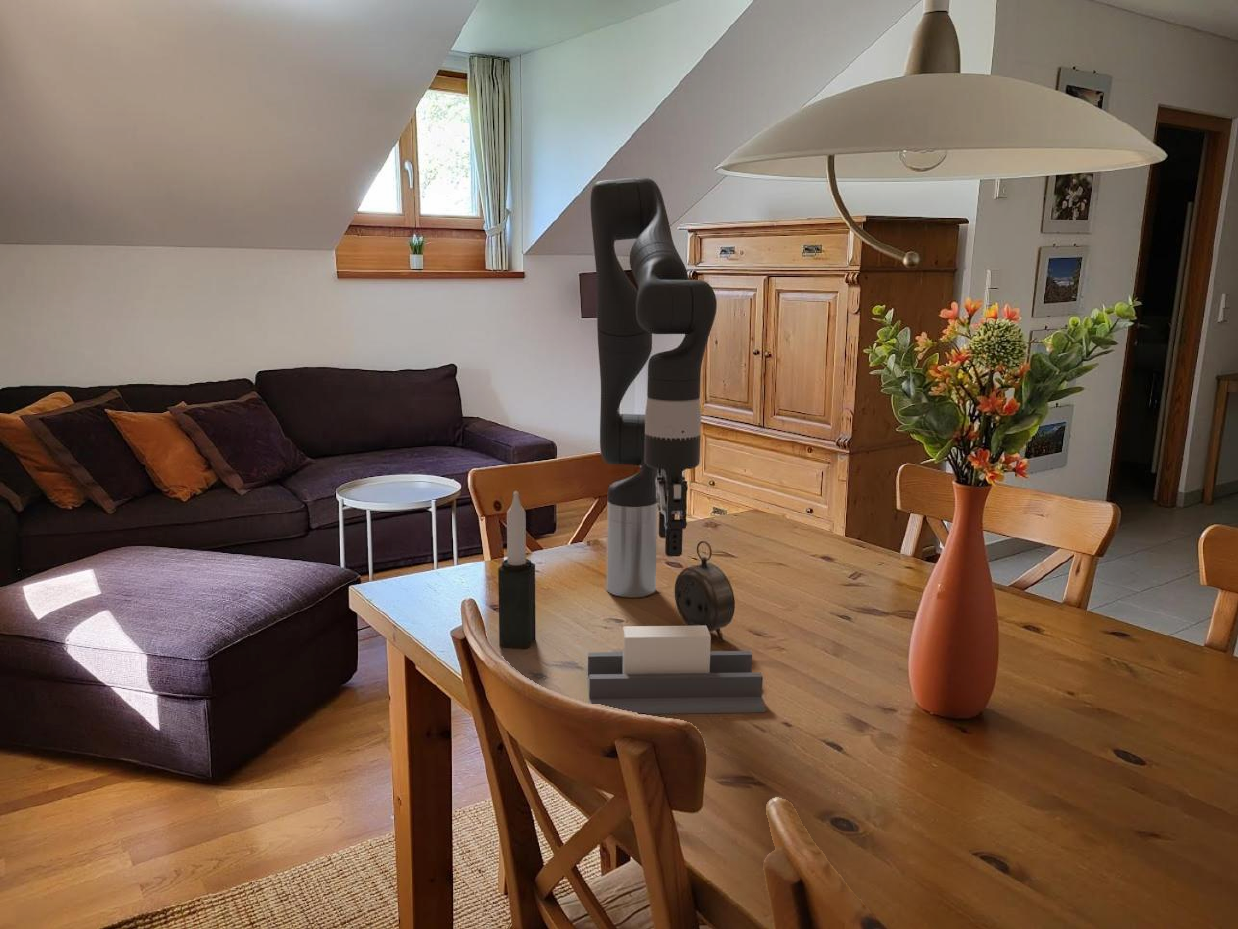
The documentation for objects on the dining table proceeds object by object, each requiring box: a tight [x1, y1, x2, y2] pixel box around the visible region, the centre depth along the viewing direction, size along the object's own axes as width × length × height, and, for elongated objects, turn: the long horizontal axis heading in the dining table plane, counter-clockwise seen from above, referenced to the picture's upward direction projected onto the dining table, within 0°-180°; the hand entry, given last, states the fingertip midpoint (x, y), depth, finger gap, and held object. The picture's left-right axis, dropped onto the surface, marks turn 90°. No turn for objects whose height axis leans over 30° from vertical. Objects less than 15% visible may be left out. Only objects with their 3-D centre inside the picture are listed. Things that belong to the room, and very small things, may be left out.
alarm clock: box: [674, 540, 736, 643], centre depth 150 cm, size 11×5×16 cm, turn 35°
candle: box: [497, 490, 536, 650], centre depth 146 cm, size 5×5×25 cm
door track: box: [587, 650, 767, 715], centre depth 132 cm, size 14×24×4 cm, turn 93°
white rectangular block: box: [622, 625, 712, 674], centre depth 131 cm, size 4×12×8 cm, turn 94°
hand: (669, 546), depth 127 cm, fingers open, 8 cm apart
